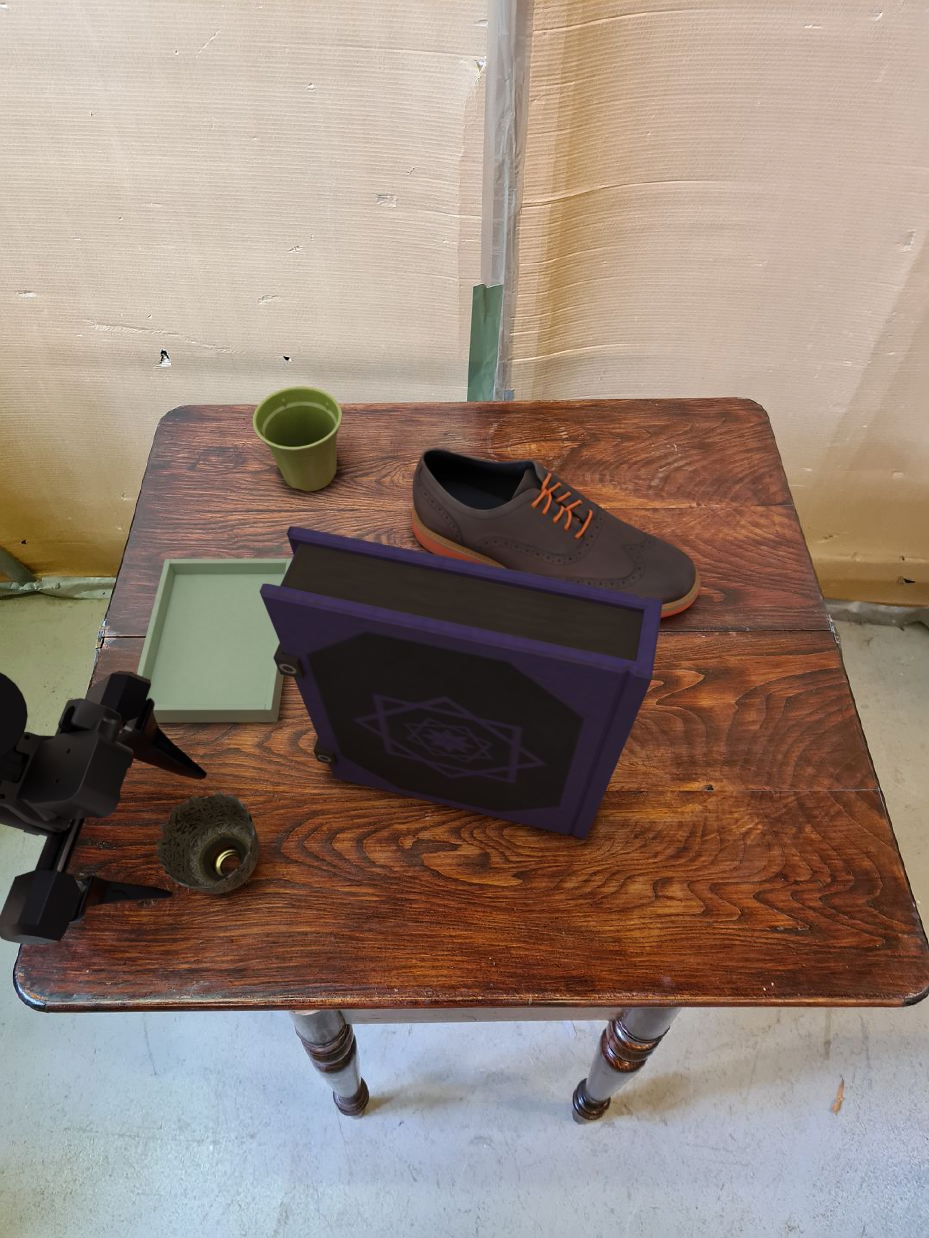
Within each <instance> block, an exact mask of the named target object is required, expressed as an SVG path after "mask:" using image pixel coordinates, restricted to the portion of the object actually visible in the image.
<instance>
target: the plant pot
mask: <svg viewBox="0 0 929 1238" xmlns="http://www.w3.org/2000/svg"><path fill="white" fill-rule="evenodd" d="M342 419H343V412H342V408H341V406H340V404H339V402H338V401H337V399H336V398H335V397H334V396H333V395H331V394H330V393H328V392H326V391H324V390H323V389H320V388H317V387H314V386H304V385H302V386H291V387H285V388H283V389H282V388H281V389H279V390H276V391H275V392H272V393H271V394H269V395H268V396H266V397H265V398H263V400H261V402H259V404H258V405H257V407H256V409H255V410H254V413H253V416H252V426H253V430H254V432H255V434H256V435H257V437H258V438H259V439H260V440H261V441H262V442H263V443H264V444H265V445H266V446H267V447H268V448H269V450H270V452H271V454H272V456H273V458H274V461H275V463H276V464H277V467H278V468H279V471H280V473H281V475H282V477H283V479H284V481H285V483H286V484H287V485H288V486H289V487H290V488H292V489H297V490H301V491H305V492H314V491H319V490H321V489H323V488H326V487H327V486H328V485H330V484H331V483H332V481H333V479H334V478H335V475H337V470H338V469H337V464H338V462H337V461H338V459H337V436H338V432H339V429H340V427H341V425H342Z"/></svg>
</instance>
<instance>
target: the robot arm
mask: <svg viewBox="0 0 929 1238" xmlns="http://www.w3.org/2000/svg"><path fill="white" fill-rule="evenodd" d="M150 687H151V680H149V679H147V678H145V677H142V676H140V675H137V673H135V672H132V671H127V670H118V671H115V672H111V673H109V674H108V675H107V676H105V677H104V678H102V679H100V680H99V681H98V682H96V683H95V684H94V685H92V686H90V687H89V688H88V689H87V690H86V691H87V692H86V694H85V697H84V698H82V697H79V698H72V699H68V700H67V701H66V703H65V706H64V708H63V711H62V713H61V715H60V718H59V720H58V722H57V723H58V724H57V729H56V731H55V734H54V735H45V734H44V735H43V734H41V735H40V734H36V733H34V732H32V731H26V729H27V722H28V718H29V717H28V716H29V714H28V705H27V702H26V698H25V696H24V694H23V692H22V691H21V689H20V688H19V686H18V685H17V684H16V682H15V681H13V680H12V679H11V678H10V677H9V676H7V675H6V674H4V673H2V672H1V671H0V825H3V826H7V827H11V828H14V829H16V830H17V829H18V830H21V831H22V832H23V833H25V834H29V835H33V836H36V837H38V836H43V837H46V839H45V842H44V844H43V847H42V849H41V853H40V855H39V858H38V859H37V863H36V865H35V868H34V870H30V871H28V872H25V873H22V874H19V875H16V876H14V878H13V880H12V883H11V887H10V889H9V891H8V894H7V896H6V898H5V902H4V904H3V907H2V910H1V912H0V939H1V940H3V941H7V942H11V943H15V944H20V945H25V946H31V947H34V946H41V945H46V944H53V943H58V942H61V940H63V937H64V936H65V935H66V933H67V931H68V928H69V926H72V925H77V924H79V923H80V922H81V921H82V920H83V919H84V916H85V914H86V911H87V909H88V908H94V907H99V906H106V905H114V904H125V903H135V902H138V903H139V902H147V901H148V902H149V901H158V900H167V899H171V898H173V896H174V892H173V891H171V890H168V889H164V888H161V887H158V886H152V885H144V884H137V883H132V882H131V883H129V882H122V881H115V880H108V879H106V878H102V877H99V876H96V875H94V874H91V875H87V876H84V877H80V878H77V879H76V877H75V876H74V875H73V874H70V873H67V871H68V868H69V865H70V863H71V859H72V857H73V854H74V851H75V849H76V845H77V842H78V840H79V837H80V834H81V832H82V829H83V826H84V824H85V821H86V819H92V818H93V819H94V818H95V819H105V818H106V817H109V816H111V815H112V814H113V813H114V812H115V811H116V809H117V808H118V806H119V803H120V801H121V798H122V795H121V790H122V787H123V784H124V781H125V778H126V775H127V772H128V770H129V768H131V767H132V766H133V762H134V760H136V761H139V762H142V763H145V764H147V765H149V766H154V767H156V768H158V769H161V770H164V771H167V772H169V773H173V774H175V775H178V776H181V777H185V778H189V779H194V780H198V781H202V780H204V779H206V778H207V775H208V772H207V771H206V770H205V769H203V768H202V767H201V766H200V765H199V764H198V763H197V762H195V761H194V760H193V759H192V758H191V757H190V756H189V755H188V754H187V753H185V752H184V751H183V750H182V749H181V748H179V746H178V745H176V744H175V743H174V742H173V741H172V740H171V739H170V738H169V737H168V736H167V735H166V733H165V732H164V731H163V730H162V729H161V727H160V726H159V725H158V724H159V723H157V722H156V719H155V716H154V712H153V710H154V707H155V702H154V700H153V699H152V698H148V699H147V696H148V693H149V690H150Z"/></svg>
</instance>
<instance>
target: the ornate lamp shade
mask: <svg viewBox="0 0 929 1238" xmlns="http://www.w3.org/2000/svg"><path fill="white" fill-rule="evenodd" d="M254 823H255V822H254V820H253V818H252V815H251V812H250V810H249V809H247V808H246V807H245V805H244V804H243V803H242V801H241V800H240V799H239V798H238V797H236V796H233V795H227V794H225V793H224V792H222V791H218V790H217V791H215V792H214V793H213V796H210V795H206V796H205V797H202V798H201V797H199V796H198V795H192V796H190V797H189V798H188V800H187V802H183V803H180V804H178V805H176V806H175V807H173V808H172V809H171V810H170V813H169V818H168V821H167V822H165V823H162V825H161V826H160V827H159V828H160V831H161V833H162V835H163V836H162V837H159V838H158V839H157V841H156V844H155V845H156V850H157V852H156V856H157V858H158V860H159V861H160V863H161V865H162V866H163V867H162V871H163V873H164V874H165V875H167V876H168V877H170V879H171V881H172V882H174V883H175V884H177V885H179V886H182V887H185V888H187V889H190V890H193V891H195V892H199V893H203V894H209V895H218V894H223V893H228V892H231V891H234V890H236V889H237V888H239V887H241V885H243V884H244V883H246V881H247V880H248V879H249V878H250V876H251V875H252V874H253V872H254V871H255V869H256V866H257V864H258V861H259V855H260V840H259V836H258V835H259V834H258V832H257V829H256V826H255V824H254ZM232 856H233V857H236V858H237V859H239V861H240V862H239V865H238V867H237V868H236V869H235V870H233V871H231V873H230V874H227V873H225V872H224V871H223V868H222V864H223V862H224V861H225V860H226V858H229V857H232Z"/></svg>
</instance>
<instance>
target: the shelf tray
mask: <svg viewBox="0 0 929 1238" xmlns="http://www.w3.org/2000/svg"><path fill="white" fill-rule="evenodd" d="M292 559H293V557H288V558H285V557H284V558H278V557H277V558H276V557H275V558H274V557H273V558H262V557H261V558H165V559H164V562H163V566H162V570H161V575H160V578H159V583H158V586H157V590H156V593H155V599H154V602H153V607H152V610H151V614H150V618H149V622H148V626H147V631H146V634H145V639H144V642H143V647H142V651H141V654H140V659H139V663H138V667H137V671H136V674H137V675H140V676H142V677H145V678H147V679H149V680H151V687H150V690H149V693H148V696H147V699H148V698H152V699H153V700H154V702H155V707H154V710H153V712H154V716H155V719H156V722H157V724H159V723H160V724H161V723H162V724H163V723H165V724H166V723H168V724H169V723H171V724H172V723H176V724H178V723H179V724H180V723H181V724H182V723H185V724H186V723H187V724H189V723H191V724H192V723H278V721H279V714H280V706H281V699H282V691H283V686H284V685H283V684H284V677H285V675H281V674H280V672H279V670H278V667H277V665H276V663H275V660H274V658H273V657H274V654H275V652H276V650H277V648H278V645H279V643H280V642H279V639H278V637H277V634H276V632H275V629H274V627H273V624H272V622H271V619H270V617H269V614H268V612H267V609H266V607H265V604H264V602H263V599H262V597H261V594H260V592H259V591H260V589H261V587H262V585H263V584H272V585H277V586H280V585H281V583H282V581H283V578H284V576H285V574H286V572H287V570H288V567H289V565H290V563H291V561H292Z"/></svg>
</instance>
